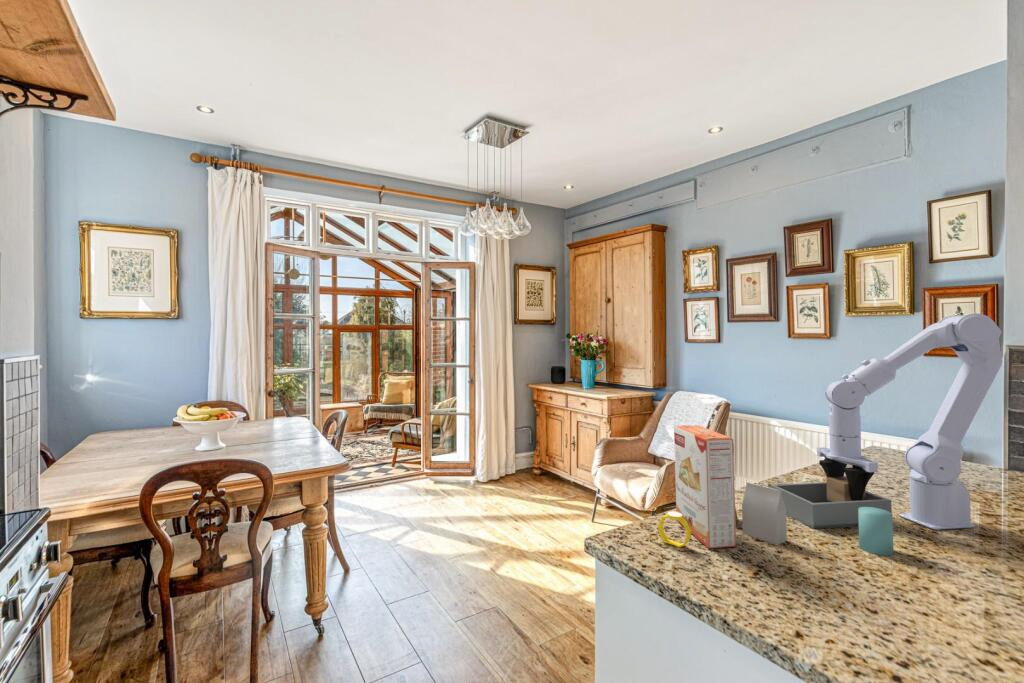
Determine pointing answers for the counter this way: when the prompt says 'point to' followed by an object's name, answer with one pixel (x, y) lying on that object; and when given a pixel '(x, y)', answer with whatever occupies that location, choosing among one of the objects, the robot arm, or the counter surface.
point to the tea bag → (764, 514)
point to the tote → (824, 505)
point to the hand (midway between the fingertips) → (846, 496)
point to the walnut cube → (839, 489)
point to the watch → (679, 517)
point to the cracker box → (706, 484)
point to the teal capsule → (875, 530)
